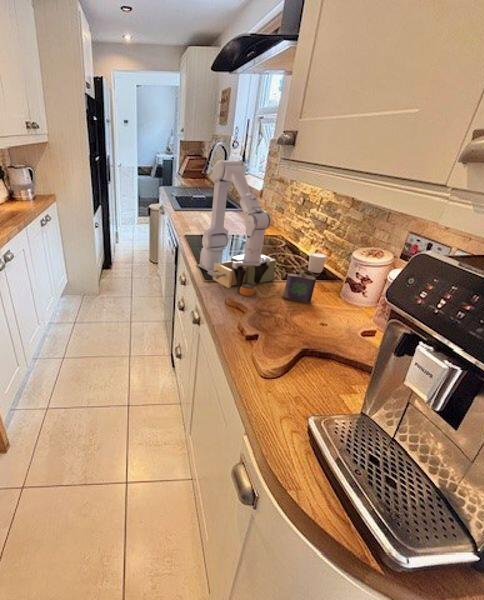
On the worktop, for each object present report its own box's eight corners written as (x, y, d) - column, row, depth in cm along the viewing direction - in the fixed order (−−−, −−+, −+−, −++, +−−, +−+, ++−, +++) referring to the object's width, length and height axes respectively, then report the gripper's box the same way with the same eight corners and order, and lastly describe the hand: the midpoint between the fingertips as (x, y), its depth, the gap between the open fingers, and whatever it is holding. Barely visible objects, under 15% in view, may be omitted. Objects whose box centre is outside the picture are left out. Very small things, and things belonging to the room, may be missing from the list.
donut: (236, 291, 120) (237, 283, 119) (246, 288, 123) (248, 281, 121) (246, 296, 116) (247, 289, 115) (256, 294, 119) (258, 286, 117)
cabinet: (247, 286, 125) (250, 265, 121) (229, 276, 133) (231, 256, 129) (272, 280, 131) (276, 259, 127) (253, 271, 139) (256, 252, 135)
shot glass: (303, 268, 143) (306, 253, 140) (314, 266, 146) (318, 251, 142) (315, 274, 137) (319, 258, 134) (327, 272, 140) (331, 256, 137)
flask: (282, 298, 116) (288, 270, 111) (283, 295, 118) (289, 267, 113) (310, 303, 112) (317, 275, 108) (310, 300, 115) (318, 272, 110)
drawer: (218, 290, 119) (220, 273, 116) (203, 281, 126) (204, 264, 123) (253, 282, 126) (255, 265, 123) (236, 273, 134) (239, 258, 131)
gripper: (242, 253, 106) (237, 291, 112) (278, 249, 111) (271, 285, 117) (230, 247, 112) (226, 283, 118) (264, 243, 117) (258, 278, 123)
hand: (247, 284), depth 118 cm, fingers open, 7 cm apart
